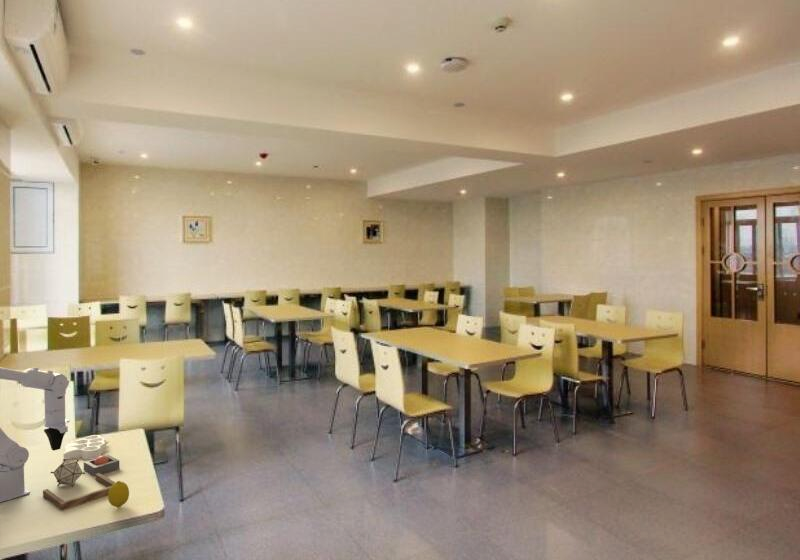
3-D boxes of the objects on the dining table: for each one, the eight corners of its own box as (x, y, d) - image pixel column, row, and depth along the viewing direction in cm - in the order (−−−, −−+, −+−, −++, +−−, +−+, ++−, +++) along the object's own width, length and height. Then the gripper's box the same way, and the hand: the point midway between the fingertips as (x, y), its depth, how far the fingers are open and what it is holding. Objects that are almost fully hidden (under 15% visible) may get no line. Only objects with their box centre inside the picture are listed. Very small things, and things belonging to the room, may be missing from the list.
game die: (75, 493, 174) (96, 467, 176) (57, 496, 166) (79, 468, 168) (57, 477, 176) (78, 451, 178) (38, 478, 168) (60, 451, 170)
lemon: (124, 501, 162) (123, 475, 161) (132, 507, 158) (132, 480, 158) (104, 508, 157) (104, 481, 157) (113, 514, 154) (112, 487, 153)
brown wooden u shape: (61, 510, 155) (61, 504, 155) (43, 496, 164) (42, 490, 164) (119, 490, 168) (119, 484, 168) (99, 478, 177) (99, 472, 177)
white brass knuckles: (66, 447, 205) (109, 441, 212) (62, 464, 189) (109, 457, 196) (66, 438, 205) (109, 432, 212) (62, 454, 189) (109, 448, 196)
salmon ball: (97, 472, 181) (97, 459, 181) (92, 468, 184) (91, 456, 184) (111, 468, 185) (111, 455, 184) (105, 464, 187) (105, 452, 187)
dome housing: (94, 476, 179) (94, 467, 178) (83, 470, 184) (83, 461, 183) (119, 468, 185) (119, 460, 185) (108, 462, 190) (108, 454, 190)
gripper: (77, 410, 176) (78, 451, 176) (59, 402, 184) (60, 441, 185) (53, 415, 170) (54, 457, 171) (36, 407, 179) (37, 446, 180)
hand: (56, 449), depth 178 cm, fingers closed
